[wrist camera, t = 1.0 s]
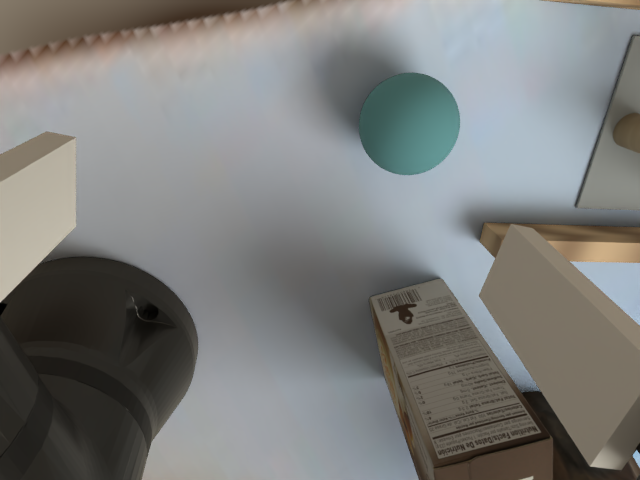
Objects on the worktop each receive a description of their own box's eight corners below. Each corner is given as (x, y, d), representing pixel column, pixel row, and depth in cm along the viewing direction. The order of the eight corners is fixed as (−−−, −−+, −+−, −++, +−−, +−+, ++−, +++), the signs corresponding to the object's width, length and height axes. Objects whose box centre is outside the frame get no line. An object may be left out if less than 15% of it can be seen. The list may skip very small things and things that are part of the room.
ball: (347, 157, 32) (363, 186, 26) (356, 64, 29) (377, 75, 24) (431, 161, 33) (464, 190, 27) (447, 71, 30) (487, 83, 25)
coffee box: (454, 361, 41) (557, 549, 27) (383, 379, 41) (448, 576, 27) (443, 274, 37) (557, 440, 22) (365, 294, 37) (428, 472, 22)
